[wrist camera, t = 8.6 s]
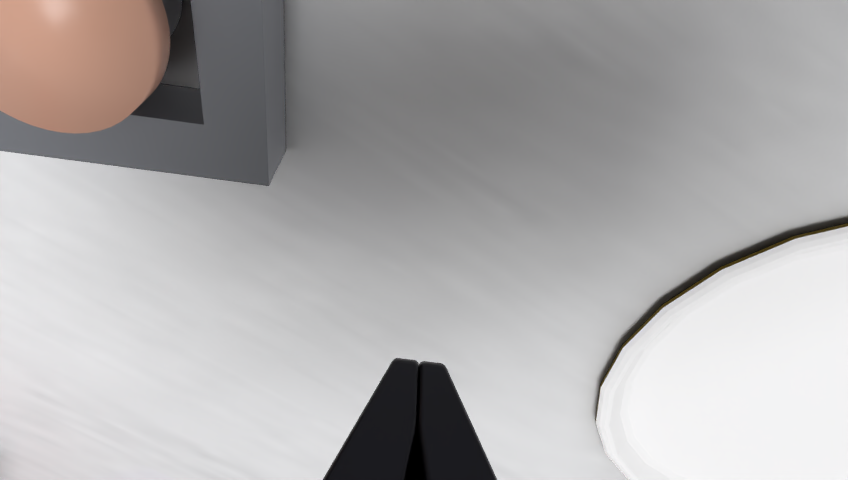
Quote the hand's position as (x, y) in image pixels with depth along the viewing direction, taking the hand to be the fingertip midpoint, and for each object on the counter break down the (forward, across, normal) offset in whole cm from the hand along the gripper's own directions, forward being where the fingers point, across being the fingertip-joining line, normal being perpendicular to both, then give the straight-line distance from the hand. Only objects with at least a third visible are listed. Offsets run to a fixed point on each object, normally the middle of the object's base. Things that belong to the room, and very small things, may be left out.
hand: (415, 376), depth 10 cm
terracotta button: (+12, +10, -2) cm, 16 cm away
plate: (+13, -20, +12) cm, 27 cm away
